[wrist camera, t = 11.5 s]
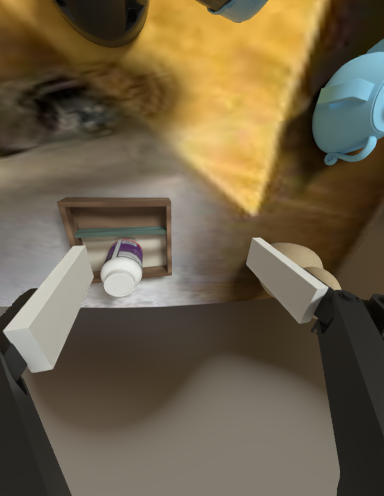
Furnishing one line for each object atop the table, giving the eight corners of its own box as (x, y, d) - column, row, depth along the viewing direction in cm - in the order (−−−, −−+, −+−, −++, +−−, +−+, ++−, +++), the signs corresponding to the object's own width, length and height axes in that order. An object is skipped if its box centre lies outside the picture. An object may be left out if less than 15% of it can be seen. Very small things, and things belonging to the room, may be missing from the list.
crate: (66, 197, 37) (57, 202, 33) (168, 197, 42) (170, 201, 38) (88, 273, 46) (82, 284, 42) (169, 266, 51) (171, 275, 47)
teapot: (373, 126, 45) (454, 114, 33) (311, 173, 48) (366, 178, 36) (368, 35, 36) (478, -27, 24) (291, 99, 38) (356, 72, 26)
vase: (243, 241, 53) (335, 320, 27) (291, 226, 54) (422, 287, 28) (245, 281, 61) (318, 371, 35) (287, 267, 62) (386, 343, 37)
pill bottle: (119, 267, 46) (108, 307, 34) (104, 242, 42) (86, 277, 30) (147, 258, 47) (147, 293, 34) (135, 232, 43) (131, 262, 30)
